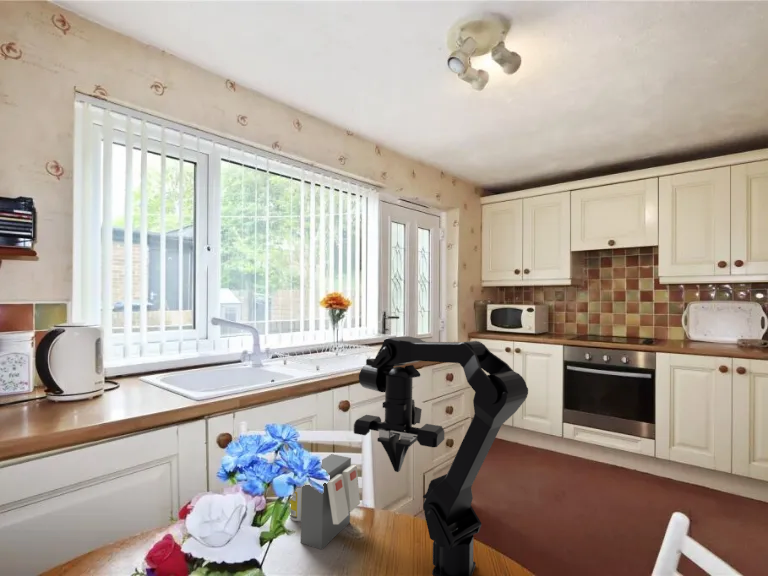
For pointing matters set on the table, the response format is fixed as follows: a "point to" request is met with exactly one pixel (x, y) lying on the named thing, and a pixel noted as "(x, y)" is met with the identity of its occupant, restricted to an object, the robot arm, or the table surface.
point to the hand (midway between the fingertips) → (397, 471)
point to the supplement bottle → (296, 505)
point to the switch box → (321, 507)
